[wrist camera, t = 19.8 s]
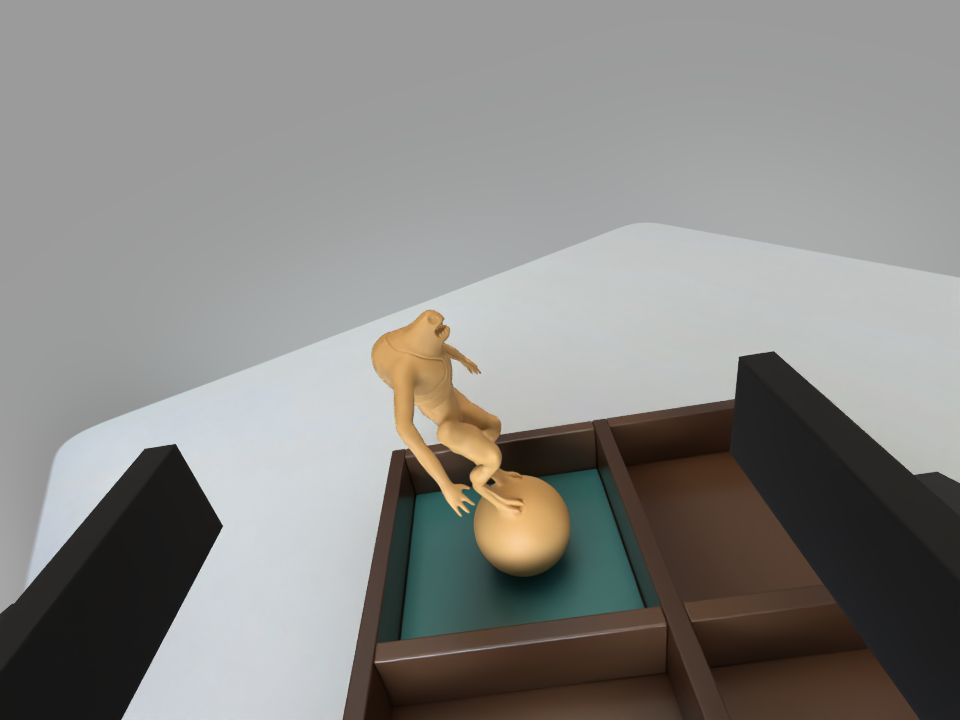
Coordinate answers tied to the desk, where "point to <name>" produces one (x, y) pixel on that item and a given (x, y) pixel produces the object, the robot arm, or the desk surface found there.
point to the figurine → (470, 450)
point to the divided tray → (608, 593)
